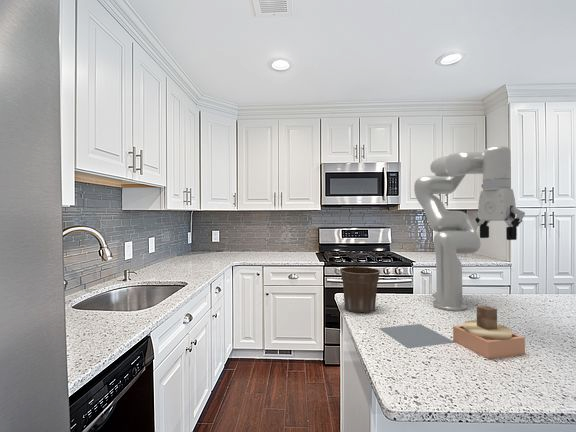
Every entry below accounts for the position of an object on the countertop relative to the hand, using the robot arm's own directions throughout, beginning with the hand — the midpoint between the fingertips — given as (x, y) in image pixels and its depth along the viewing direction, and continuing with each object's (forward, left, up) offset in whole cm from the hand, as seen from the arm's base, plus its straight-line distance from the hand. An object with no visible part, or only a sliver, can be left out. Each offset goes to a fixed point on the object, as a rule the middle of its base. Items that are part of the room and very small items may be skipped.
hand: (497, 238), depth 98 cm
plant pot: (-35, -31, -31) cm, 56 cm away
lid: (+9, -14, -25) cm, 30 cm away
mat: (-4, -28, -30) cm, 41 cm away
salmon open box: (+9, -14, -30) cm, 35 cm away
